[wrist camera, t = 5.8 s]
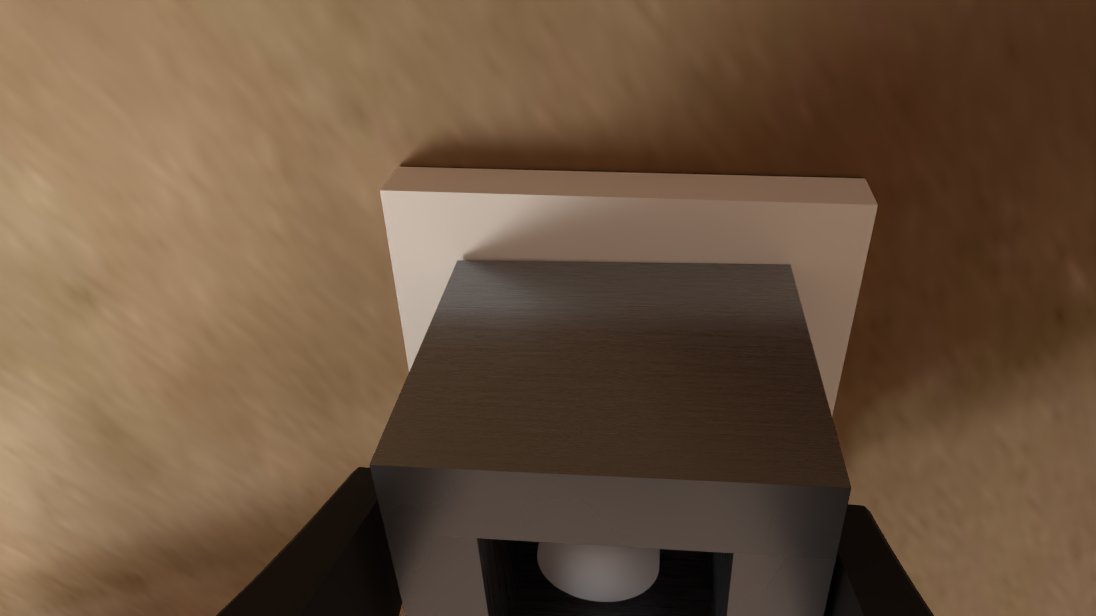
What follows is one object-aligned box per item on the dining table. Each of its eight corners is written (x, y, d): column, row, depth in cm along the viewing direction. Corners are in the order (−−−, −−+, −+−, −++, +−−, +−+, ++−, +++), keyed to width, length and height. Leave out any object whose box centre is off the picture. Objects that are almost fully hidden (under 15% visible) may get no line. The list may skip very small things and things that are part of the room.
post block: (797, 514, 17) (834, 741, 13) (443, 486, 18) (376, 689, 14) (865, 178, 13) (952, 360, 9) (397, 166, 14) (281, 324, 10)
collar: (759, 504, 16) (793, 753, 12) (487, 490, 17) (431, 721, 13) (790, 264, 13) (851, 487, 9) (457, 260, 14) (369, 465, 10)
